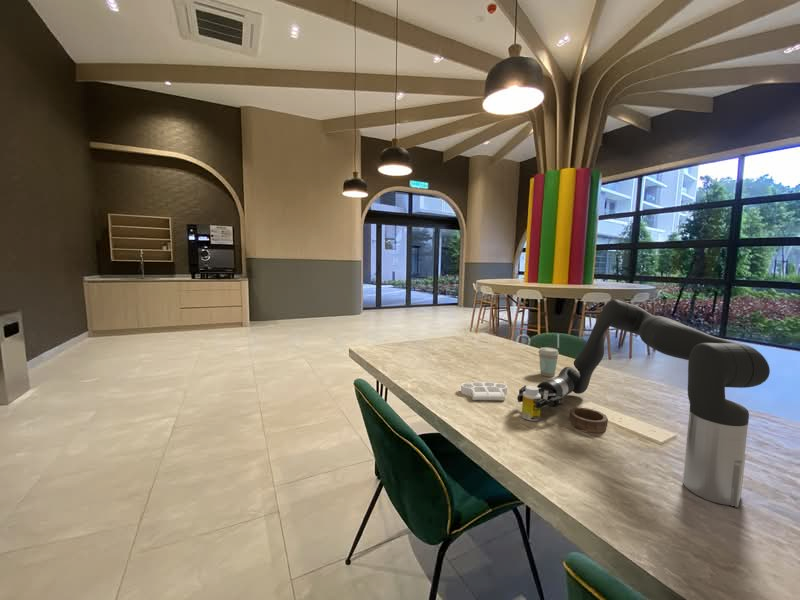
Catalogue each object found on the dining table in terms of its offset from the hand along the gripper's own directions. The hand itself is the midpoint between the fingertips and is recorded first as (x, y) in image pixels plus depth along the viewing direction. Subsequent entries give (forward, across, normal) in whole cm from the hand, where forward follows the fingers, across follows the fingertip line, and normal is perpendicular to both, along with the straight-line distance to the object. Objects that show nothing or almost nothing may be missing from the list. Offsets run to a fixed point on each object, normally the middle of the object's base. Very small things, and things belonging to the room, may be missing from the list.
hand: (527, 402), depth 107 cm
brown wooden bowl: (-12, +14, +6) cm, 19 cm away
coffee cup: (-50, -18, +6) cm, 53 cm away
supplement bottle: (-3, 0, +6) cm, 7 cm away
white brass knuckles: (-8, -22, +7) cm, 25 cm away
